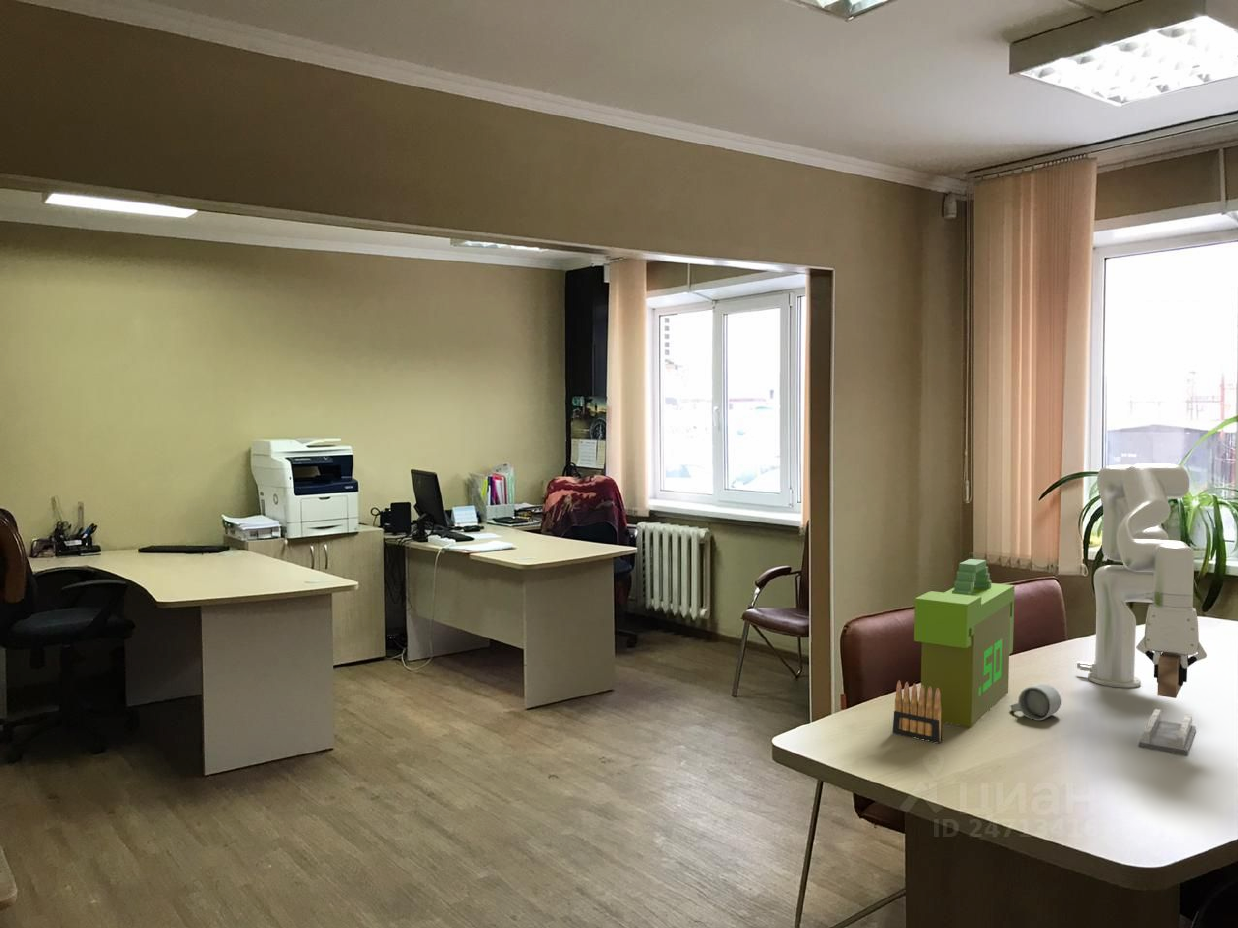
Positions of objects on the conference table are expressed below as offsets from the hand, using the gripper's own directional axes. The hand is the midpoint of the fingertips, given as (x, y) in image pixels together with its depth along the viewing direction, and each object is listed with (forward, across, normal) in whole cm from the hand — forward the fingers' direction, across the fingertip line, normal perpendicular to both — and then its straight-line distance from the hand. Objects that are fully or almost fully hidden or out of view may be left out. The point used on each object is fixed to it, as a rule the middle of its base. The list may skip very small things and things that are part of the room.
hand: (1170, 682), depth 209 cm
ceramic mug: (+13, -28, 0) cm, 31 cm away
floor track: (+13, 0, 0) cm, 13 cm away
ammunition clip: (+13, -45, -33) cm, 57 cm away
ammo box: (+13, -43, -2) cm, 45 cm away
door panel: (+2, 0, 0) cm, 2 cm away
